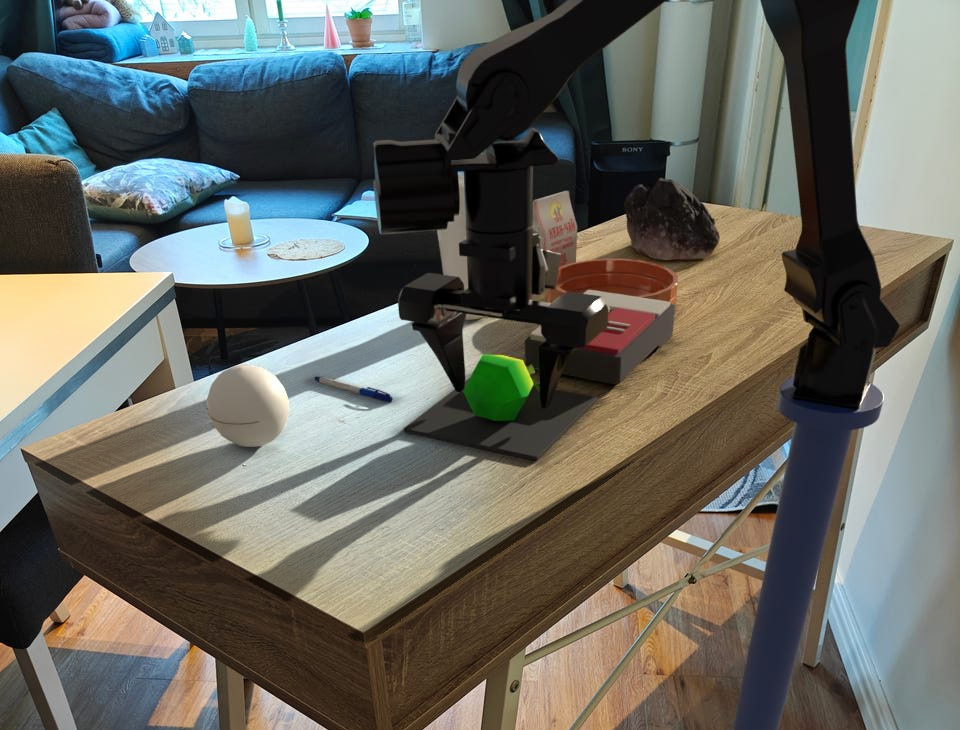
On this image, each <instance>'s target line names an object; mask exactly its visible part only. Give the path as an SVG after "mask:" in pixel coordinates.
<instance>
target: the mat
mask: <svg viewBox="0 0 960 730" xmlns="http://www.w3.org/2000/svg"><path fill="white" fill-rule="evenodd" d="M469 379H470V377H469V378H467V379H465V387H466V385H467V383H468V381H469ZM464 389H465V388H464ZM463 391H464V390H462V391H461V392H456V390H455V389H453V390H452V391H450V392H449V393H448V394H447V395H445V396H444V397H443V398H441V399H440V400H439V401H438V402H436V403H435V404H434V405H433V406H431V407H430V408H428V409H426V411H424V412H423V413H422V414H420V415H419V416H417V418H415V419H414V420H412V421H411V422H410V423H409V424H408V425H406V426H405V427H403V433H407V434H412V435H415V436H416V435H417V436H421V437H426V438H430V439H435V440H440V441H444V442H448V443H452V444H458V445H462V446H467V447H471V448H476V449H481V450H485V451H490V452H493V453H494V452H495V453H499V454H504V455H507V456H513V457H518V458H523V459H526V460H532V461H535V462H538V461H539V460H540V459H541V458H542V457H543V455H545V454H546V453H547V452H548V451H549V450H550V449H551V448H552V446H554V444H555V443H556V442H558V441H559V440H560V439H561V438H562V437H563V436H564V435H565V434H566V433H567V432H568V430H569V429H571V428H572V427H573V425H575V424H576V422H578V420H580V419H581V418H582V417H583V415H584V414H586V413H587V411H589V410H590V409H591V408H592V406H593V405H594V404H596V403H597V402H598V396H594V395H588V394H583V393H578V392H572V391H567V390H561V389H556V390H555V392H554V395H553V398H552V400H551V403H550V405H549V406H548V407H547V408H546V409H544V408H542V407H541V401H540V395H539V392H538V390H537V389H536V388H535V386H534V385H533V386H532V388H531V391H530V393H529V395H528V397H527V398H526V400H525V402H524V404H523V405H522V407H521V409H520V411H519V412H518V414H517V416H516V418H515V420H510V421H494V420H490V419H487V418H483V417H480V416H477V415H474V413H473V411H472V408H471V406H470V404H469V402H468V400H467V398H466V396H465V394H464V392H463Z"/></svg>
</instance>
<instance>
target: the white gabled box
mask: <svg viewBox="0 0 960 730" xmlns="http://www.w3.org/2000/svg"><path fill="white" fill-rule="evenodd" d="M571 202H572V201H571V198H570V190H564V191H561V192H557V193H554V194H551V195H547V196H544V197H540V198H537V199H533V231H538V232H539V236H540V248H541V249H543V250H548V251H552V252H555V253H559V254H561V259H560V266H559V267H561V266H564V265H567V264H570V263H574V262H577V247H578V246H577V245H578V223H577V221H576V217H575V213H574V210H573V206H572V203H571Z"/></svg>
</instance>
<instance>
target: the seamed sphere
mask: <svg viewBox="0 0 960 730" xmlns="http://www.w3.org/2000/svg"><path fill="white" fill-rule="evenodd" d="M206 403H207V408H206V410H207V415H208V416H209V418H210V419H209V420H207V421H206V422H204V423H203V424H202V425H200V426H199V427H197V428H195V429H194V430H193V432H196V431H198V430H199V429H200V428H202V427H204V426H205V425H206V424H207V423H209V422H211V423H212V425H213V428H214V429H215V430H216V431H217V432H218V433H219V434H220V435H221V437H223V438H224V439H225V440H226V441H229V442H231V443H232V444H234V445H237V446H240V447H245V448H246V447H247V448H255V447H261V446H264V445H267V444H270V443H271V442H274V441H275V440H276V439H277V438H278V436H279V435H280V434H281V433H283V431H284V430H285V428H286V425H287V422H288V419H289V416H290V401H289V397H288V394H287V391H286V389H285V387H284V386H283V384H282V383H281V381H280V379H278V377H277V376H276V375H274V374H273V373H272V372H270V371H268V370H266V368H263V367H262V366H256V365H252V364H245V363H244V364H237V365H234V366H232V367H229V368H227V369H225V370H223V371H222V372H220V373H219V374H218V375H217V377H216V378H214V380H213V382H212V384H211V385H210V387H209V391H208V395H207V398H206Z"/></svg>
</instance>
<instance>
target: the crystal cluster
mask: <svg viewBox="0 0 960 730" xmlns="http://www.w3.org/2000/svg"><path fill="white" fill-rule="evenodd" d="M623 208H624V212H625V217H626V230H627V233H628V236H629V239H630V245H631V247H632V248H633V249H634V250H636V252H637V253H638V254H641V255H646V256H648V258H652V259H657V260H661V261H671V260H685V261H686V260H687V261H690V260H704V259H706V258H708V257H709V256H711V255H712V254H713V252H714V251H715V249H716V248H717V246H718V245H719V243H720V239H721V238H720V233H719V231H718V229H717V227H716V219H715V218H713V217H712V213H710V211H709V210H708V208H707V206H706V205H705V204H704V203H703V202H702V201H700V200H699V198H697V197H696V196H695V195H694V194H693V193H692V192H690V191H689V189H688V188H687V187H685V186H684V185H682V184H681V183H680V182H678V181H676V180H675V181H674V180H673V179H668V178H665V177H659V178H658V179H657V180H656V183H654V186H653V187H652V189H651V188H650V187H649V185H646V186H644V184H637V185H636V186H634V188H633V189H632V190H631V191H630V193H628V196H627V197H626V198H625V200H624V205H623Z"/></svg>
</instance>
